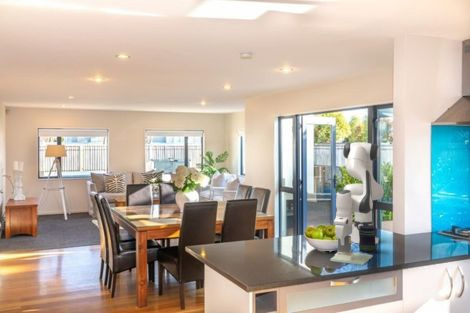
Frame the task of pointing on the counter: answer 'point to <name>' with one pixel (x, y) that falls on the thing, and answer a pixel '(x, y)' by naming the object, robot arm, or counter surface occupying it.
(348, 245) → the plug
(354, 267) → the counter surface
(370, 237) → the storage jar
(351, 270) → the counter surface
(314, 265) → the counter surface
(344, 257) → the board
